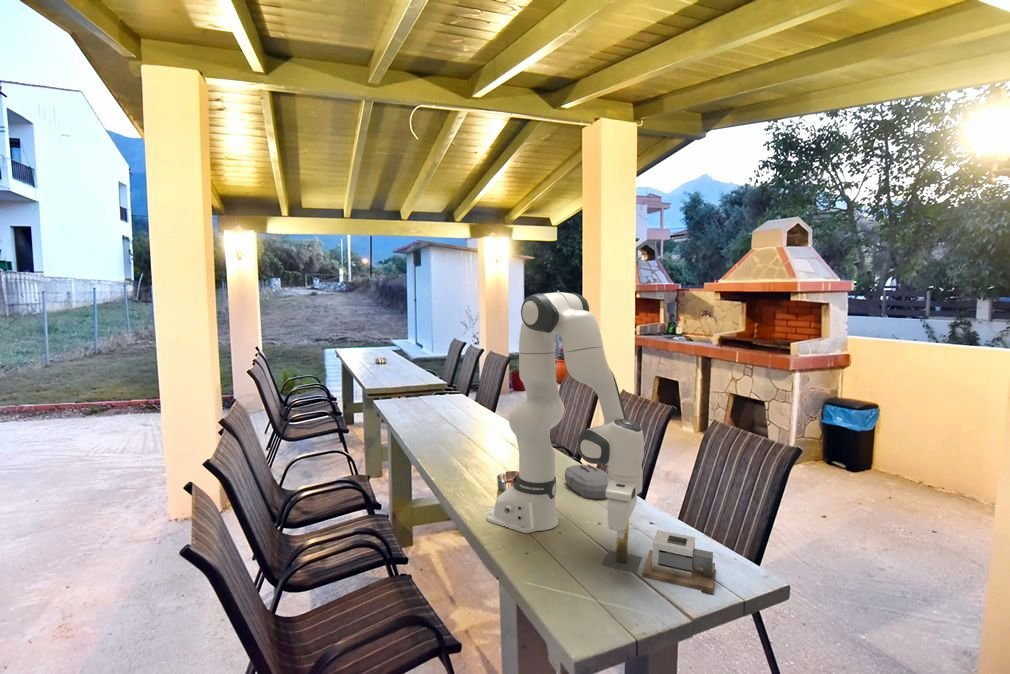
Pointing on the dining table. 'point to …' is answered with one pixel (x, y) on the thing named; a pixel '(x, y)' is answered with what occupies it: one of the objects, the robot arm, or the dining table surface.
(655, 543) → the block
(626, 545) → the brass pin
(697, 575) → the walnut base
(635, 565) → the rubber mat
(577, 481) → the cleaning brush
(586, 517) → the dining table surface
